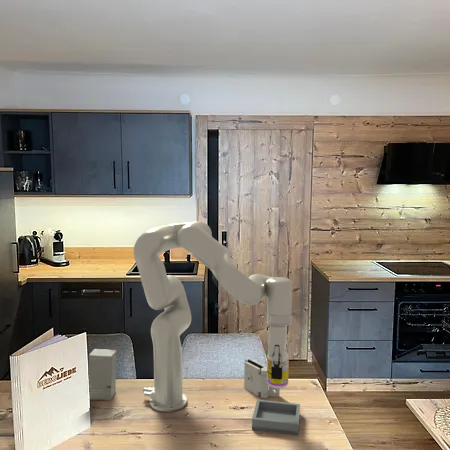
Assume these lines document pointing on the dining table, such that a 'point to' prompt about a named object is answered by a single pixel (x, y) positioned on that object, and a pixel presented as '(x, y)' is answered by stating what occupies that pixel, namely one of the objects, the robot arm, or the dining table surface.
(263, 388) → the hinge
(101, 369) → the skincare box
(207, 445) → the dining table surface
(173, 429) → the dining table surface
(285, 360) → the supplement bottle
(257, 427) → the parts tray
